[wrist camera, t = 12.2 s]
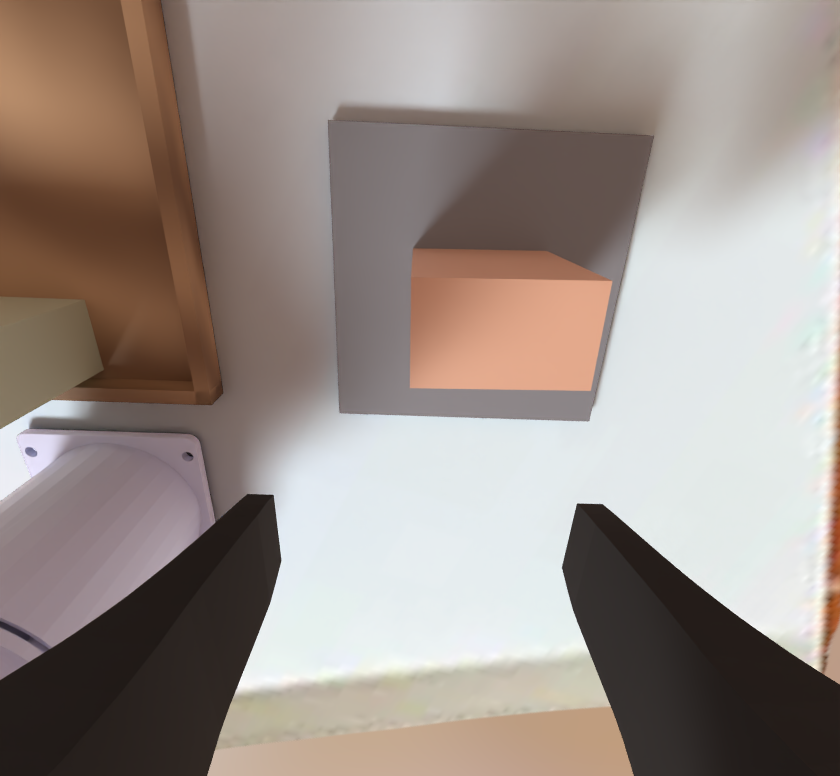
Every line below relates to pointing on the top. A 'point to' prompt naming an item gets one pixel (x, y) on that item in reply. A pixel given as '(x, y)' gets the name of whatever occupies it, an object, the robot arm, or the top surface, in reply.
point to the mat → (465, 241)
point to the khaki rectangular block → (43, 352)
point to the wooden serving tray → (104, 193)
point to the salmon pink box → (504, 320)
